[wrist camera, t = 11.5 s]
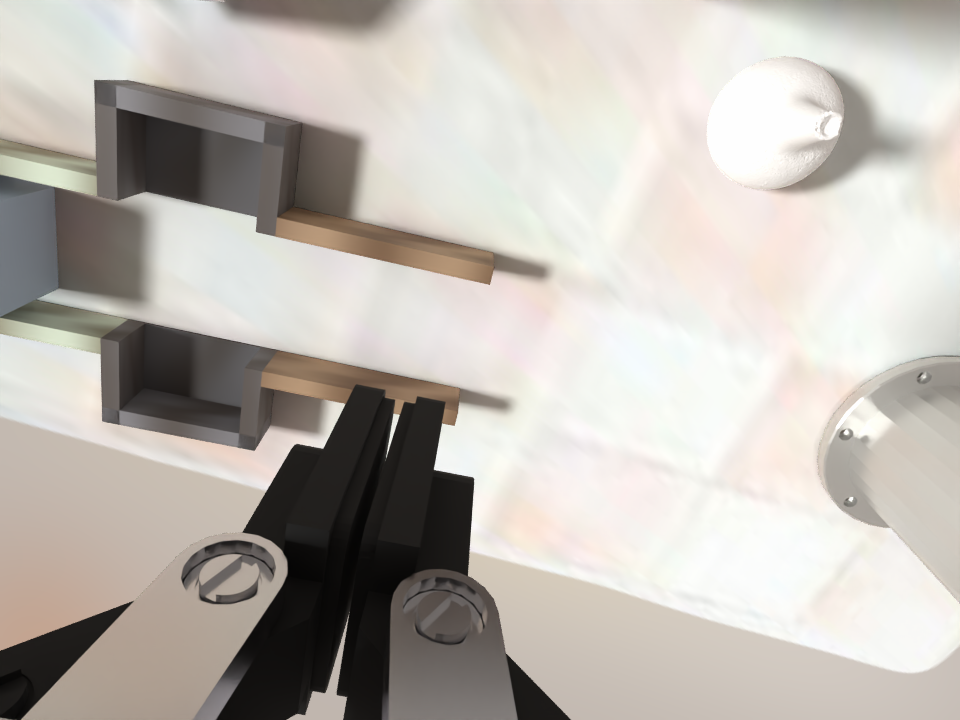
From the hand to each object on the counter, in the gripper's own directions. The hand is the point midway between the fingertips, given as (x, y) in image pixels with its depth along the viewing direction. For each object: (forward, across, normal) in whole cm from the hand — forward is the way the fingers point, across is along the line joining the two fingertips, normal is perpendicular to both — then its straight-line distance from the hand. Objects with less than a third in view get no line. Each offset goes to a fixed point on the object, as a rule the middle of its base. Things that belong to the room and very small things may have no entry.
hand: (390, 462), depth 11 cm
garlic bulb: (+26, -14, -8) cm, 31 cm away
